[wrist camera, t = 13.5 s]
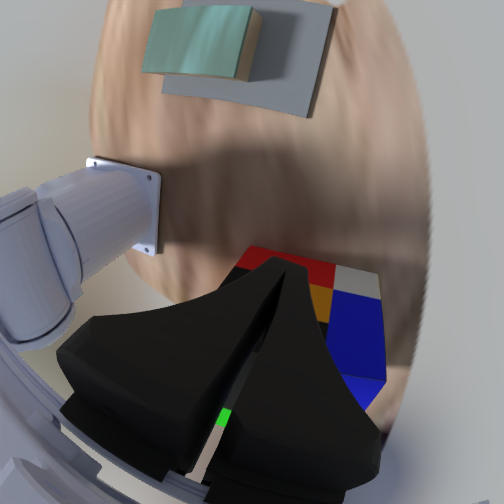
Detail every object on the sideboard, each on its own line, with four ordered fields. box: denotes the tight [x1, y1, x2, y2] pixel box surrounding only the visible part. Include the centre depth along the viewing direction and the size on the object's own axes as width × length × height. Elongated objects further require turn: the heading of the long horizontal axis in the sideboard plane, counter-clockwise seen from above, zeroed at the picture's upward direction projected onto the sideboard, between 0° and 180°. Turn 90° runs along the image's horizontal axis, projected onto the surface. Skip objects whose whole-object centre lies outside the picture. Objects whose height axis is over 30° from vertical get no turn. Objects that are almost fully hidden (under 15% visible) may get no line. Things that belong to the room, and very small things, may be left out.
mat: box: [162, 0, 333, 118], centre depth 14 cm, size 11×8×1 cm
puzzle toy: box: [215, 246, 387, 427], centre depth 18 cm, size 10×10×10 cm
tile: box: [141, 5, 263, 83], centre depth 14 cm, size 2×5×7 cm
